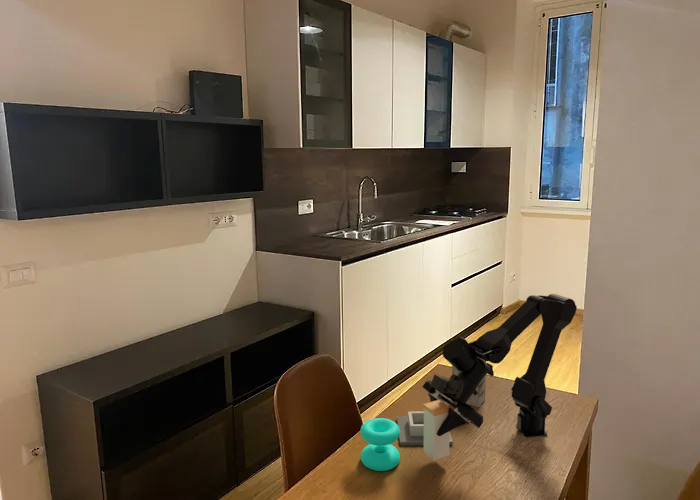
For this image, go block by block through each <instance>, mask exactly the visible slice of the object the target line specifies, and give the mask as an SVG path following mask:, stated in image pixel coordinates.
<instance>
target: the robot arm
mask: <svg viewBox="0 0 700 500" xmlns="http://www.w3.org/2000/svg"><path fill="white" fill-rule="evenodd" d="M576 311H577V305H576V302H575V301H574V300H573V298H569V297H566V296H563V295H560V294H556V293H550V294H548V295H535V294H534V295H528V297H526V300H525V302H524V303H523V304H522V305H521V306H520V307H518V309H516V310H515V311H514V312H513V313H512V314H511V315H510V316H509V317H508V318H507V319H506V320H504V322H503V323H502V324H501V325H500V326H498V327H497V328H494V329H491V330H488V331H486V332H485V333H484V334H482V335H480V336H479V337H478V338H477V339H476V340H473V341H470V342H469V343H468V341H467V340H466V339H465V338H463V337H462V336H459V337H458V338H456V339H453V340H451V341H450V342H448V343H446V344H445V346H444V347H443V349H442V357H443V358H444V359H445V360H446V361H447V362H448V363H449V364H450V365H451V366H452V365H453V366H454V367H455V368H456V369H457V370H458V371H460V372H459V373H458V375H457V376H456V375H455V374H453V375H452V374H451V376H449V377H447V376H444V375H440V374H437V373H433V374H434V375H433V377H432V380H430V379H429V380H426V381H425V382H424V384H423V385H422V386H421V387H422V388H423V390H425V391H426V392H427V393H428V394H427V395H428V397H429V402H433V401H436V400H440V401H442V402H443V403H445V404H447V405H448V406H451V407H452V408H454V409H452V408H451V407H450V408H449V409H448V416H447V417H446V419H445V421H444V422H443V424H442V425H441V427H440V428H439V430H438V432H437V435H438V436H442V435H443V434H445V433H447V432H449V431H450V432H451V431H452V430H455V429H457V428H459V427H462V426H464V425H469V424H470V423H471V424H472V425H474V427H476V428H478V429H480V427H481V426H482V424H483V423H484V416H483V415H482V414H480V413H479V412H478V411H477V410H476V409H475V408H474V407H472V405H469V404H466V403H467V401H468V400H469V398H470V397H471V396H472V394H474V395H477V393H478V392H477V391H476V389H477V387H478V386H479V384H480V383H481V382H482V380H483V379H484V377H485V376H487V375H489V376H490V377H494V375H495V374H494V370H493V369H494V368H493V367H494V365H492V364H500V363H501V362H503V360H504V359H505V358H506V357H507V355H508V354H509V352H510V351H511V347H512V344H513V342H514V341H515V340H516V339H517V338H518V337H519V336H520V335H521V334H522V333H523V332H524V331H525V330H526V329H527V328H528V327H530V325H531V324H532V323H533V322H534V321H535V320H536V319H538V318H539V316H541V320H542V325H541V329H540V332H539V334H538V337H537V340H536V344H535V346H534V349H533V352H532V354H531V357H530V361H529V363H528V366H527V369H526V372H525V373H524V374H523V375H522V376H520V377H519V376H516V377H515V378H514V382H513V383H514V384H513V386H512V387H511V398H512V400H513V402H514V405H515V407H518V408H519V412H518V413H517V421H516V424H515V426H516V427H517V429H518V430H519V432H521V433H522V435H523V436H524V437H527V438H528V437H530V438H531V437H543V436H544V437H545V436H548V432H547V431H546V419H547V416H550V415H551V414H552V409H553V407H552V406H551V404H550V403H548V402H547V400H546V396H547V387H546V382H545V380H546V375H547V373H548V371H549V370H548V369H549V368H550V365H551V362H552V359H553V356H554V353H555V350H556V347H557V345H558V341H559V339H560V335H561V333H562V331H563V330H564V329H565V328H566V327H567V326H569V325H570V324H571V323H572V321H573V319H574V316H575V315H576V313H577V312H576ZM477 357H479V358H481V359H483V360H485V361H486V363H485V362H484V361H483V360H481V359H479V358H477ZM488 362H489V363H488ZM490 363H491V364H490ZM469 421H470V423H469Z"/></svg>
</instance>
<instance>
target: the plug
mask: <svg viewBox="0 0 700 500" xmlns="http://www.w3.org/2000/svg"><path fill="white" fill-rule="evenodd" d="M422 406H423V408H422V409H423V411H424V445H423V452H424V453H425V454H426V455H427V456H429V457H430V459H432V460H433V461H436V460H439V459H443V458H445V457H449V456H450V445H449V440H450V435H451V431H449V432H447V433H445V434H443V435H442V436H438V435H437V432H438V430H439V428H440V427H441V425H442V424H443V422H444V421H445V419H446V417H447V416H448V409H449V408H451V407H450V405H448V404H447V403H446V402H445V403H443V402H442V401H440V400H436V401H433V402H430V401H429V402H426V403H423V405H422Z"/></svg>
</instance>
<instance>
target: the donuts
mask: <svg viewBox="0 0 700 500" xmlns="http://www.w3.org/2000/svg"><path fill="white" fill-rule="evenodd" d="M359 432H360V436H361V438H362V439H363V440H364V441H365V442H366V443H368V445H366V446H365V447H364V448H363V449H362V451H361V453H360V459H361V463H362V464H363V465H364V466H365V467H366V468H367V469H370V470H372V471H377V472H384V471H390V470H392V469H394V468H395V467H396V466H398V464H399V463H400V460H401V455H400V452H399V450H398V449H397V447H396V446H394V445H393V443H394V442H396V441H398V439H399V435H400V428H399V426H398V424H397V422H395V421H394V420H391V419H389V418H383V417H377V418H371V419H368V420H366V421H365V422H364V423H363V424H362V425H361V427H360V431H359Z"/></svg>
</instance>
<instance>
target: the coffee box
mask: <svg viewBox="0 0 700 500" xmlns="http://www.w3.org/2000/svg"><path fill="white" fill-rule="evenodd" d="M477 358H479V357H477ZM479 359H481V358H479ZM481 360H483V359H481ZM483 361H484V362H485V363H487V361H485V360H483ZM459 372H460V371H458V370H457V369H456V368H455V367H454V366H453V365H451V376H452V375H453V374H455V375H456V376H457V375H458V373H459ZM486 376H487V375H486ZM486 376H485V377H484V379H483V380H482V382H481V383H480V384H479V386H478V387H477V389H476V391H477V392H478V393H477V395H474V394H472V396H471V397H470V398H469V400H468V401H467V403H466V404H468V405H469V406H474V407H478V408H480V407H481V405H482V404H483V403H484V402H485V400H486Z"/></svg>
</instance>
